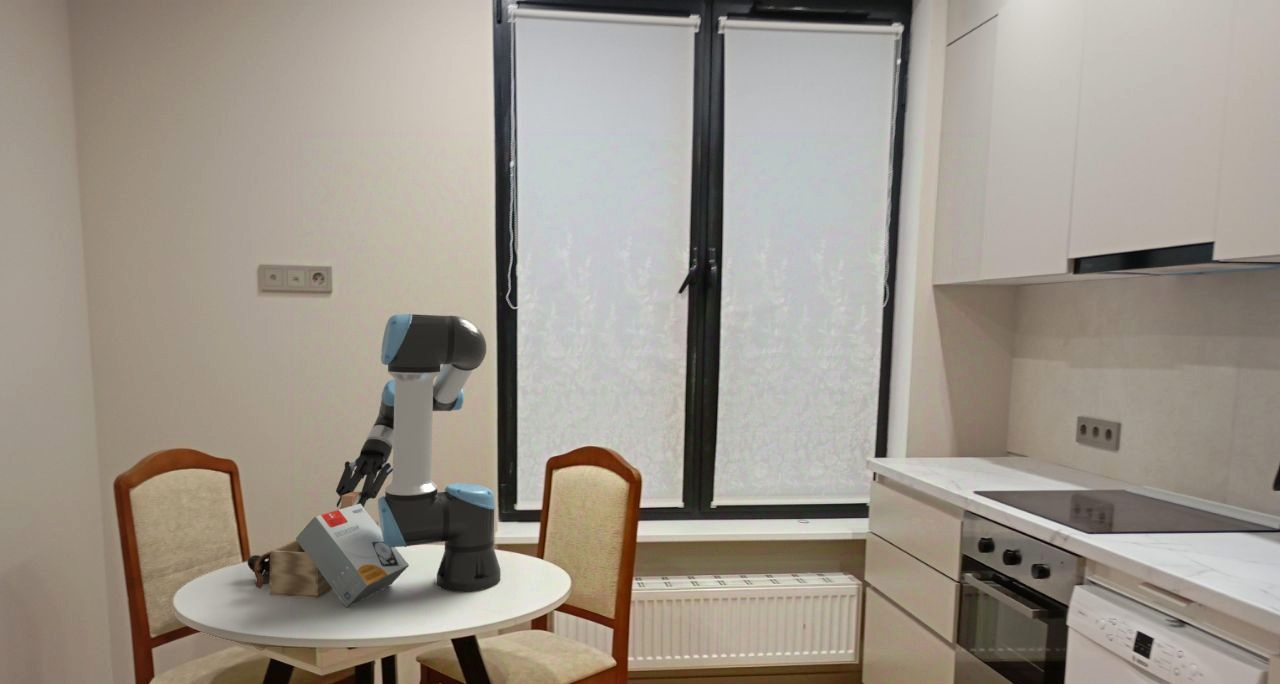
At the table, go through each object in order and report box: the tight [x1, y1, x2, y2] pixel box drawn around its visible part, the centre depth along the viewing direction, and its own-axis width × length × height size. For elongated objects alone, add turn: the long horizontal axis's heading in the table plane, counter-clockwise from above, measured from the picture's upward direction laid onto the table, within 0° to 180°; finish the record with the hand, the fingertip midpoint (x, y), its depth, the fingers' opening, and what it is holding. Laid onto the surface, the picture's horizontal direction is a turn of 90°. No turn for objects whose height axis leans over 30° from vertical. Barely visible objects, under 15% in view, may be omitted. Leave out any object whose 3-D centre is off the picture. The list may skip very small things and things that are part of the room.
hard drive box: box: [295, 504, 410, 608], centre depth 152 cm, size 16×8×20 cm
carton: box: [268, 539, 334, 599], centre depth 157 cm, size 12×14×10 cm
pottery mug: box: [246, 551, 270, 589], centre depth 159 cm, size 12×10×8 cm
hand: (343, 519), depth 169 cm, fingers closed on lid, 3 cm apart
